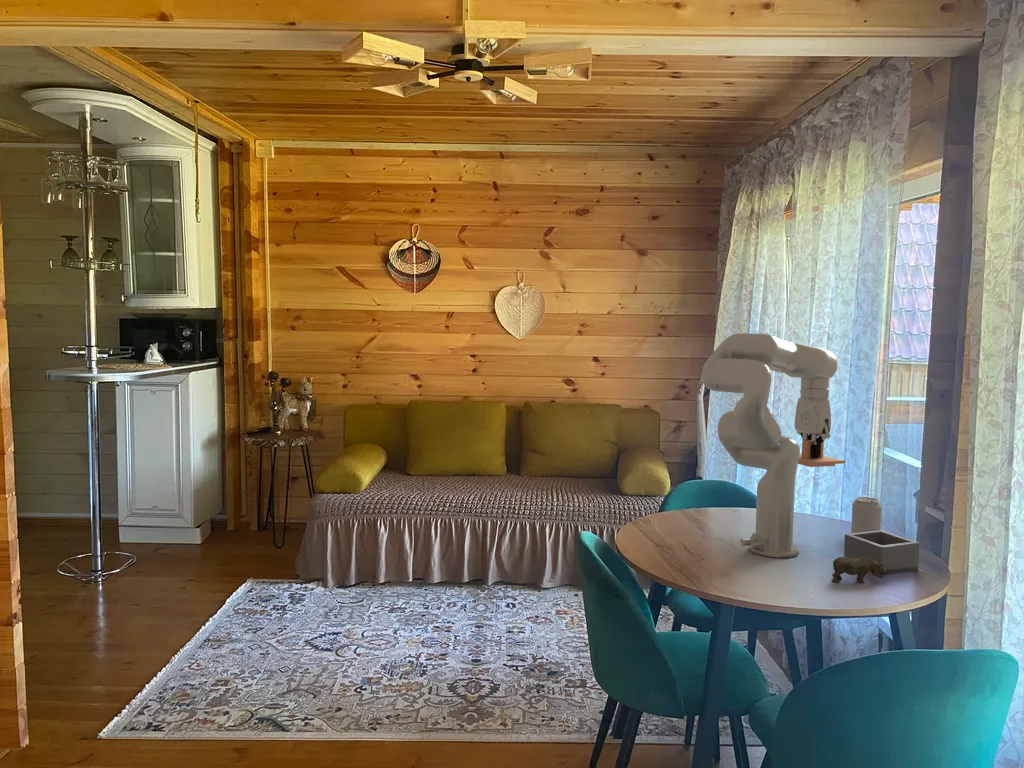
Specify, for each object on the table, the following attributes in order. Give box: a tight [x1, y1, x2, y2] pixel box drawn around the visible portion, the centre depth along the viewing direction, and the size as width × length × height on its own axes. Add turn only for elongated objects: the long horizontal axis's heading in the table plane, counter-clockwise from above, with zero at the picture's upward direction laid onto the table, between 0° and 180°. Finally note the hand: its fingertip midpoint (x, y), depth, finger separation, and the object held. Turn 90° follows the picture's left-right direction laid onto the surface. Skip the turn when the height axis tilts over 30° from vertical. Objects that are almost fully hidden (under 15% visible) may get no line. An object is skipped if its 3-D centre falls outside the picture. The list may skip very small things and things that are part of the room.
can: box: [850, 496, 882, 534], centre depth 207 cm, size 8×8×12 cm
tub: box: [843, 529, 920, 576], centre depth 185 cm, size 12×12×7 cm
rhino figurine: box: [831, 556, 889, 585], centre depth 174 cm, size 4×14×6 cm, turn 88°
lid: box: [798, 439, 846, 468], centre depth 212 cm, size 12×12×7 cm
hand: (812, 456), depth 212 cm, fingers closed on lid
